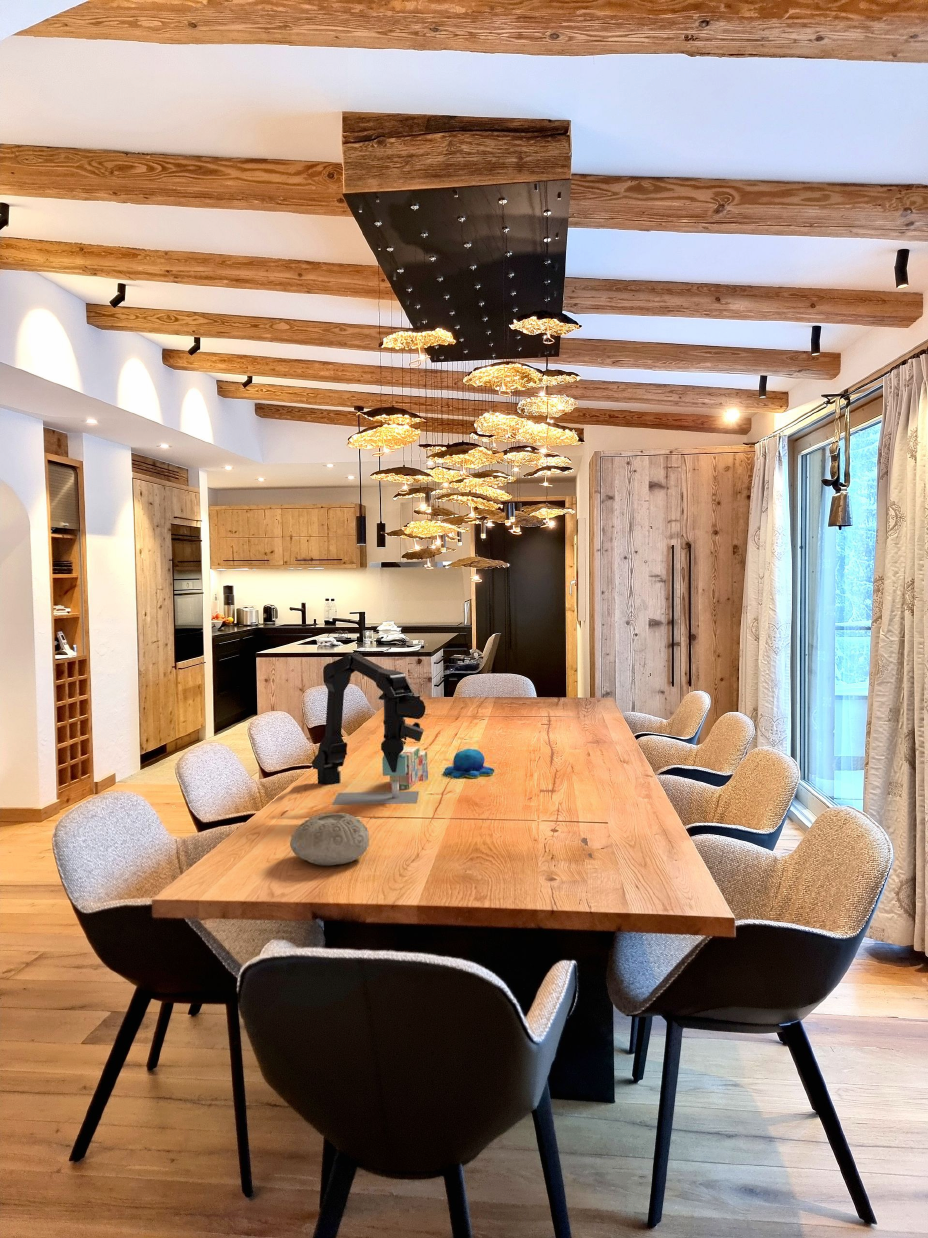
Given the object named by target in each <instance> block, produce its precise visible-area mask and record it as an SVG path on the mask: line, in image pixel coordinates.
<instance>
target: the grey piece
mask: <svg viewBox="0 0 928 1238" xmlns="http://www.w3.org/2000/svg"><path fill="white" fill-rule="evenodd" d="M419 793H420V791H419V790H417V791H415V790H412V791H410V790H407V791H403V790H402V791H400V789H399V782H398V781H393V782H392V789H391V791H365V792H363V791H361V792H359V791H358V792H355V791H354V792H338V793H337V795H336V797H335V798H334V799H333V802H332V804H331V806H337V805H338V806H342V805H344V806H345V805H347V806H348V805H349V806H351V805H391V804H392V805H397V804H398V805H399V804H418V800H419V799H418V798H419Z"/></svg>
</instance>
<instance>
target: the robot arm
mask: <svg viewBox="0 0 928 1238" xmlns="http://www.w3.org/2000/svg"><path fill="white" fill-rule="evenodd" d="M355 672H357V673H359V674H361V675H362V676H364V677H366V678H368V679H369V680H372V681H373V682H374V683H375V685H376V687H377V688H378V690H380V691H381V692H382V694H380V695H379V696H378V700H381V701H383V740H382V741H381V742H380V745H381V746H380V750H381V751H382V753H383V756H384V755H385V757H386V759H387V762H388V764H389V766H390V769H391V771H392V772H396V769H397V762H398V756H399V754H400V753H401V752H402V751H403V750H404V747H405V745H406V741H407V738H409V739H411V740H414V741H415V742H421V740H422V736H423V734H424V731H425V730H424V729H423V728H422V727H421V724H420V722H417V721H415V722H413V723H412V724H408V723H406V719H405V718H407V719H414V720H421V719H422V718H423V717H424V715H425V713H426V707H427V706H426V705H425V702H424V701H423V700H422V699H421V695H420V694H415V692H414V690H413V689H412V686H411V685H410V683H409V681H408V679H407V676H406V674H405V673H403V672H401V671H398V670H395V669H388V668H384V667H382V666H381V665H379V664H377V663H375V662H373V661H371V660H369V659H368V658H366V657H364V656H363V655H362V654H361V653H357V652H356V653H347V654H345V655H343V656H342V657H341V658H338V659H336V660H334V661H332V662H328V663H326V664H325V665H324V666H323V670H322V674H323V675H322V676H323V678H322V679H323V681H322V682H323V684H324V686H325V687H326V688H327V701H326V714H325V715H326V717H325V730H324V731H325V732H324V736H323V738H322V740H320V742H319V745H318V751H317V753H316V754H315V757H314V758H313V759H312V761H311V765H312V766H311V767H312V769H313V770H317V785H324V786H325V785H334V784H335V785H336V784H342V783H341V781H342V777H341V776H342V774H341V770H339V769H340V767H343V766H344V763H345V759H346V756H347V755H348V752H347V751H348V750H347V748H348V742H345V741H344V739H343V737H342V726H343V712H344V702H345V701H344V699H345V691H346V689H347V688H348V686H349V684H350V682H351V677H352V674H354V673H355Z"/></svg>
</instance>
